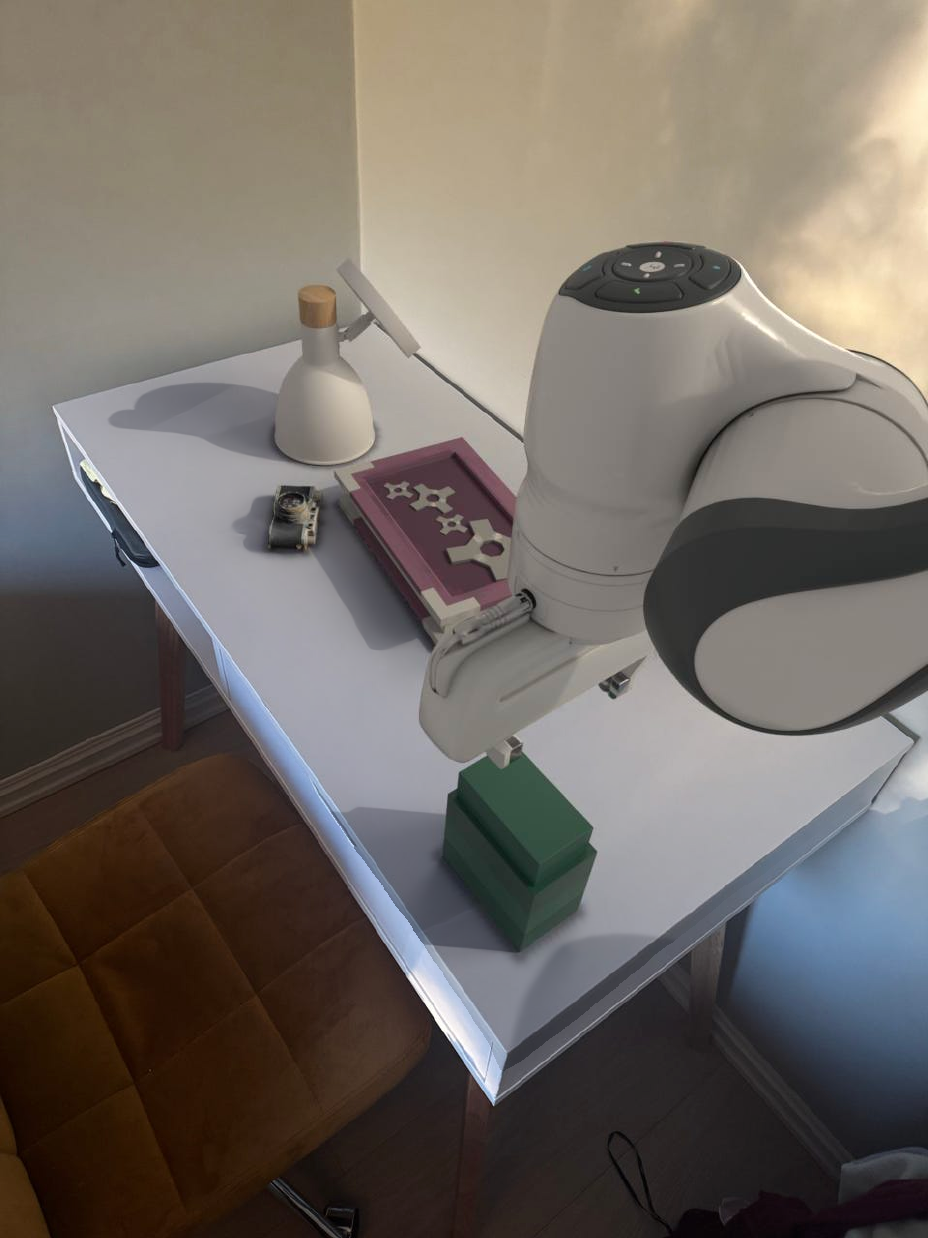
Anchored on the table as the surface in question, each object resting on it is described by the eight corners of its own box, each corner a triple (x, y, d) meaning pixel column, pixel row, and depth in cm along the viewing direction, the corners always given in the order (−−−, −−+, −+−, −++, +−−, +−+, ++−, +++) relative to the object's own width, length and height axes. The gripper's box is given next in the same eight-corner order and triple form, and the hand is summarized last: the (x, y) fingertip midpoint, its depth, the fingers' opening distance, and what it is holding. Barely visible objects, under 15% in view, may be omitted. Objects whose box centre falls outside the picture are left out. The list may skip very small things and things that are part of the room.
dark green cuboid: (587, 849, 65) (594, 827, 62) (533, 887, 62) (539, 865, 60) (508, 763, 69) (512, 739, 67) (456, 795, 67) (458, 771, 65)
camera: (324, 496, 104) (322, 467, 101) (313, 557, 97) (311, 527, 94) (280, 494, 104) (277, 464, 101) (266, 554, 97) (262, 524, 94)
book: (335, 505, 103) (333, 469, 100) (459, 470, 110) (461, 435, 106) (438, 655, 89) (441, 619, 85) (575, 605, 95) (582, 570, 91)
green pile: (578, 909, 71) (597, 851, 65) (519, 953, 68) (533, 896, 62) (499, 818, 76) (510, 756, 70) (441, 855, 74) (447, 793, 67)
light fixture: (295, 449, 120) (189, 354, 104) (414, 342, 117) (324, 228, 101) (330, 505, 112) (222, 412, 96) (458, 393, 110) (369, 278, 94)
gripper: (472, 683, 41) (459, 841, 51) (763, 523, 50) (703, 683, 60) (395, 602, 45) (396, 765, 55) (680, 466, 54) (637, 627, 64)
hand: (559, 721), depth 58 cm, fingers open, 8 cm apart
